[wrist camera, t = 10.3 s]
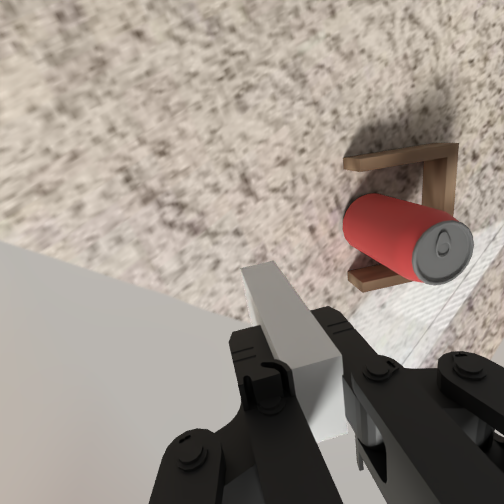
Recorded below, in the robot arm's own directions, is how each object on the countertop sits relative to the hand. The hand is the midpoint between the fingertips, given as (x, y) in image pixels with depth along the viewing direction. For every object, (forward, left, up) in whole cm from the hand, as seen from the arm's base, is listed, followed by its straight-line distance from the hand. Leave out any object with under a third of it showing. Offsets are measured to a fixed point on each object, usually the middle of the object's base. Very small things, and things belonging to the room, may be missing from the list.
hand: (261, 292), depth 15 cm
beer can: (+5, +17, -21) cm, 27 cm away
